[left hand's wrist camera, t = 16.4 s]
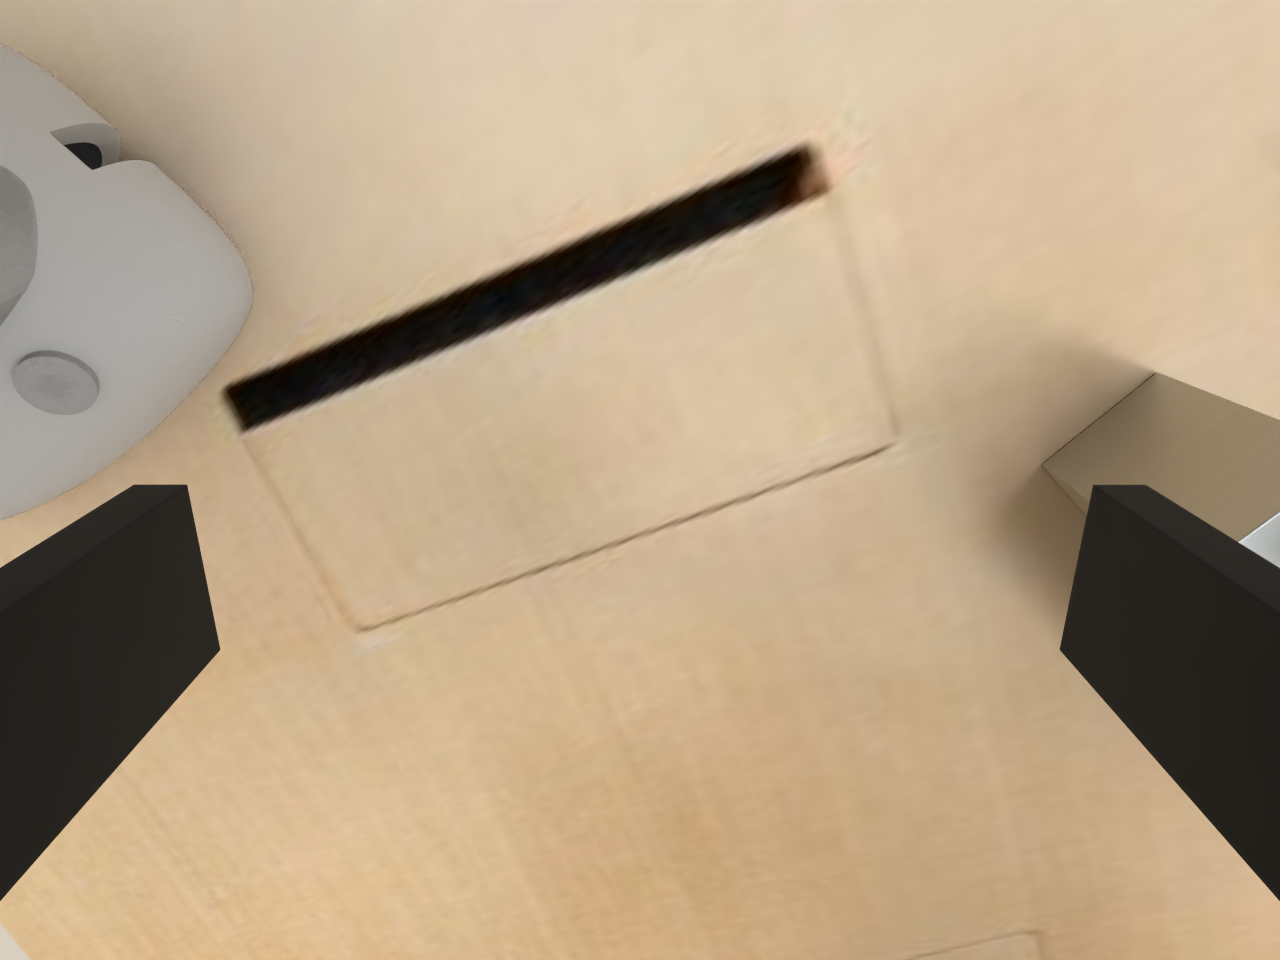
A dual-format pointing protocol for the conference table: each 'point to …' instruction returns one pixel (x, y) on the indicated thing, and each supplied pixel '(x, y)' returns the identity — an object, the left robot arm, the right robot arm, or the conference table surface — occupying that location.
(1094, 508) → the left robot arm
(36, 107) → the projector
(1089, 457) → the box
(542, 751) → the conference table surface
